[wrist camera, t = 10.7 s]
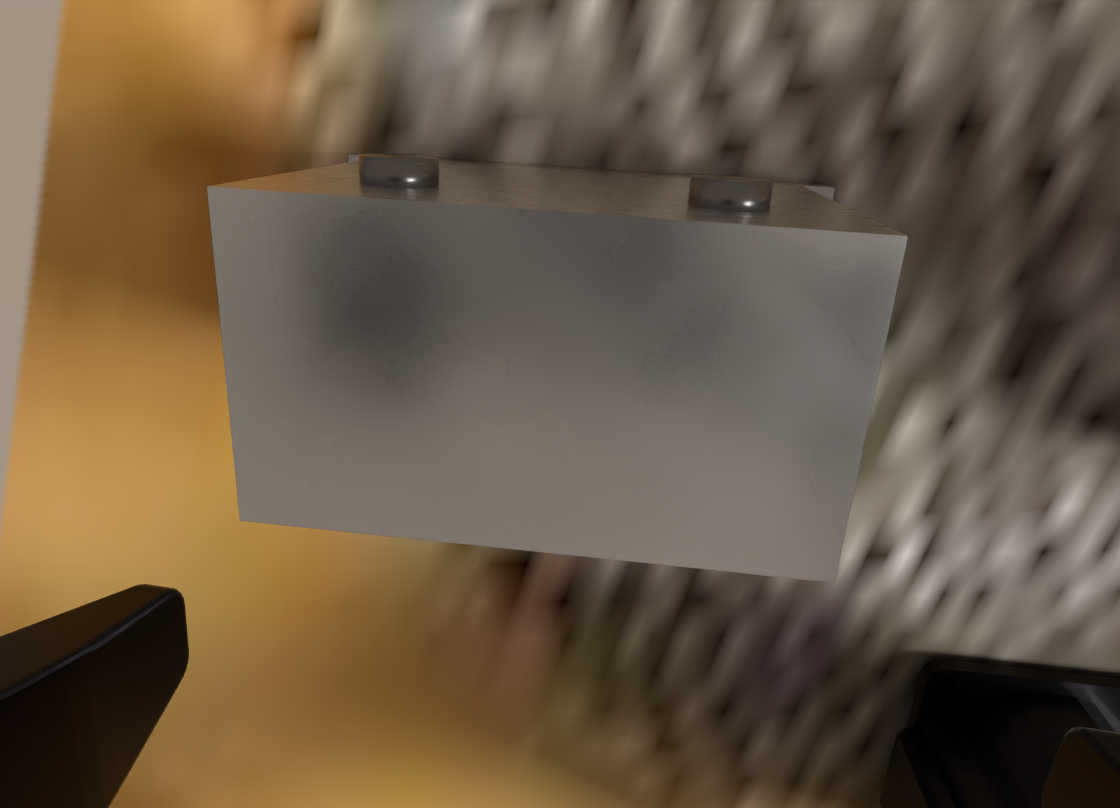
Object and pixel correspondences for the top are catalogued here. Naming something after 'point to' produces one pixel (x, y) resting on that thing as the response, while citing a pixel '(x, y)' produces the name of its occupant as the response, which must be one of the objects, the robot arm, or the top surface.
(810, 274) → the block
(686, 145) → the top surface
